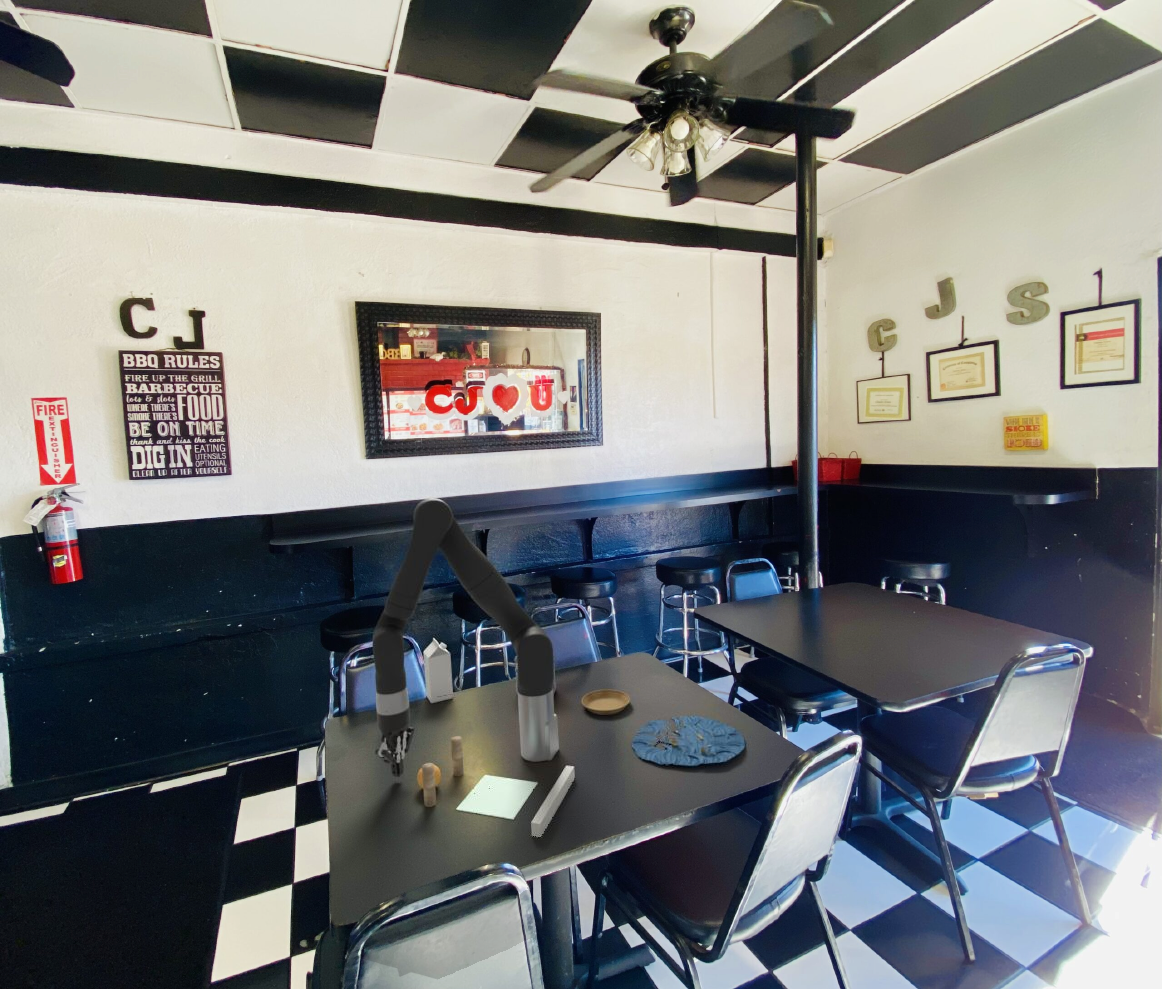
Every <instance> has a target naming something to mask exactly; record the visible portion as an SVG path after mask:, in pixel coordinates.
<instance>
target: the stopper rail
mask: <svg viewBox="0 0 1162 989" xmlns="http://www.w3.org/2000/svg"><path fill="white" fill-rule="evenodd" d="M575 777H576V776H575V766H572V765H565V767H564V769H563V771H562V772H561V774H560V775H559V777H558V778H557V780H556V782H555V784H554V785H553V786H552V788H551V790H550V791H549V792H548V795H547V796H546V798H545V799H544V801H543V802H542V804H541V806H540V808H539V809H538V811H537V812H536V813H535V816H534V817H533V819H532V820H531V821H530V826H531V827H530V828H531V837H533V836H534V838H538V837H541V836H542V837H543V835H542V834H544V833H545V832H544V831H546V830H545V829H547V828H548V826H549V825H548V824H550V823H551V821H552V819H553V818H554V815H556V812H557V810H558V809H559V807H560V805H561V803H562V802H563V800H564V798H565V796H566V794H567V793H568V791H569V790H568V789H570V787H572V786H571V785H572V784H573V783H572V782H574V781H575V779H574V778H575ZM552 817H553V818H552ZM535 836H536V837H535ZM542 837H541V838H542Z"/></svg>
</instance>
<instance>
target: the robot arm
mask: <svg viewBox="0 0 1162 989" xmlns="http://www.w3.org/2000/svg"><path fill="white" fill-rule="evenodd" d="M412 518H413V526H412V527H413V528H412V533H411V537H410V542H409V545H408V548H407V552H406V553H405V554H406V555H405V556H404V559H403V560H402V563H401V566H400V567H399V568H398V569H399V570H398V572H397V574H396V576H395V578H394V580H393V583H392V585H391V588H390V590H389V594H388V596H387V599H386V601H385V604H384V609H383V611H382V613H381V615H380V617H379V619H378V621H377V624H376V626H375V628H374V631H373V635H372V642H371V643H372V653H373V654H372V655H373V662H374V667H375V676H374V677H375V692H376V695H375V696H376V697H375V706H376V718H377V719H376V720H377V727H378V729H379V731H380V732H381V738H380V740H381V745H380V748H376V749H375V755H376V756H377V757H378V758H379V759H380V760H381V761H382V762H383V763H385V764H390V770H391V775H392V777H397V778H400V777H401V776H402V775H403V774H404V759H405V754H408V753H409V751H410V746H411V744H412V740H413V737H414V732H415V727H412V726H411V727H410V726H409V724H410V723H411V714H410V712H411V710H410V701H409V700H410V699H409V697H410V696H409V693H408V691H409V690H408V688H407V686H408V684H407V674H406V668H405V644H404V634H405V631H406V628H407V625H408V623H409V620H410V619H412V617H413V615H414V613H415V610H416V608H417V605H418V603H419V600H420V597H421V594H422V591H423V588H424V585H425V582H426V579H427V576H428V573H429V570H430V567H431V564H432V562H433V560H434V557H435V555H436V553H437V551H438V550H440V552H441V553H442V555H443V556H444V557H445V559H446V560H447V562H448V564H449V566H450V568H451V570H452V571H453V573H454V575H455V576H456V578H457V580H458V581H459V582H460V584H461V586H462V588H464V590H465V591H466V592H467V593H468V595H469V596H470V598H471V599H472V600H473V601H474V602H475V604H477V605H478V607H479V608H481V610H482V611H484V612H485V613H486V614H487V616H489V617H490V618H492V619H493V620H494V621H495V622H496V623H497V624H498V626H499V627H500V628H501V629H502V631H503V632H504V634H505V635H506V637H507V639H508V641H510V643H511V645H512V648H513V650H514V652H515V654H516V656H517V662H518V681H517V684H516V686H517V690H518V695H517V705H518V723H519V724H518V726H519V738H520V739H519V740H520V755H521V757H522V758H523V759H524V760H525V761H528V762H533V763H534V762H535V763H536V762H543V761H545V762H546V761H552V760H553V758H554V756H555V755H556V754H557V753H558V751H559V749H560V746H559V745H560V742H559V727H558V725H559V723H558V714H556V713H555V706H554V705H555V700H554V694H553V680H554V670H555V669H554V665H555V663H554V662H555V661H554V659H555V658H554V659H553V654H554V647H553V643H552V640H551V639H550V637H549V635H547V632H546V631H545V630H544V629H543V628H542V627H540V625H538V623H537V622H535V620H534V619H533V618H532V617H531V616H530V615H529V614H528V613H527V612H526V610H524V609H523V607H522V606H521V604H520V603H519V601H518V599H517V598H516V596H515V593H514V591H513V590H512V588H511V587H510V585H509V584H508V583H507V581H506V579H505V578H504V576H502V574H501V573H500V571H499V570H498V569H497V568H496V566H495V565H494V563H492V561H491V560H490V559H489V558H488V557H487V556H486V555H485V554H484V553H483V551H481V550H480V549H479V547H478V546H476V544H474V543H473V542H472V541H471V540H470V538H469V537H468V536H467V535H466V533H465V532H464V530H463V529H462V528H461V525H459V523H458V522H457V519H456V518H455V516H454V514H453V511H452V509H451V507H450V505H448V504H447V503H446V502H445V501H444V500H442V499H439V498H437V497H436V498H435V497H430V498H429V497H428V498H425V499H422V500H421V501H420V502H419V503H417V505H416V506H415V509H414V511H413V517H412Z"/></svg>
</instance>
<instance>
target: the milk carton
mask: <svg viewBox="0 0 1162 989" xmlns="http://www.w3.org/2000/svg"><path fill="white" fill-rule="evenodd" d="M446 648H447V644H445V643H444V642H440V644H439V642H438V641H437V640H436V639H435V638H434V637H433V638H432V641H431V643H430V644H429V645H428V646H427V647H426V648H425V649H424V651H423V665H424V678H425V679H424V681H425V694H426V697H427V699H428V700H429V702H430V703H431V704H435V703H438V702H443V701H446V700H451V699H453V698H454V692H453V689H454V688H453V677H452V676H453V675H452V660H451V652H449V651H448V650H447V649H446ZM449 694H453V695H449ZM443 695H447V696H443ZM437 696H442V697H437Z"/></svg>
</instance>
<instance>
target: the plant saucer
mask: <svg viewBox="0 0 1162 989" xmlns="http://www.w3.org/2000/svg"><path fill="white" fill-rule="evenodd" d="M630 700H631V698H630V696H629V695H628V694H627V693H625V692H623V691H620V690H616V689H598V690H594V691H593V690H592V691H591V692H588V693H587V694H585V695H584V696H582V698H581V704H582V705H583V707H585V709H587V710H588V711H589V712H591V713H593V714H595V715H601V716H609V715H615V714H617V713H620V712H621V711H623V710H624V709H625V708H626V707H627V706H628V705H629V703H630Z"/></svg>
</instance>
